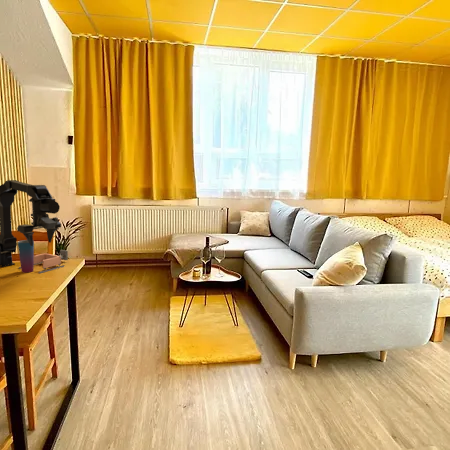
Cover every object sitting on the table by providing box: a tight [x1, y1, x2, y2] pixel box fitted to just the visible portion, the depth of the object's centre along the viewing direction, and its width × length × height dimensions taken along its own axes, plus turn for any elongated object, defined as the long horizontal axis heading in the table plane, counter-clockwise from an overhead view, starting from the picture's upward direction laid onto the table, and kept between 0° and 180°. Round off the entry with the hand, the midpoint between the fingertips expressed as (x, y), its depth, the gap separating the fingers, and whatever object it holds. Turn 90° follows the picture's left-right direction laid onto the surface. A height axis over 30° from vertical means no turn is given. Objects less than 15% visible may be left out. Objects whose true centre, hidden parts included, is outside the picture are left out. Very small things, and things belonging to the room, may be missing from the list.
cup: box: [17, 239, 35, 274], centre depth 162 cm, size 7×7×15 cm
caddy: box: [34, 249, 69, 271], centre depth 174 cm, size 17×12×6 cm
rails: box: [18, 262, 66, 274], centre depth 170 cm, size 16×14×1 cm
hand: (41, 244), depth 158 cm, fingers open, 9 cm apart
